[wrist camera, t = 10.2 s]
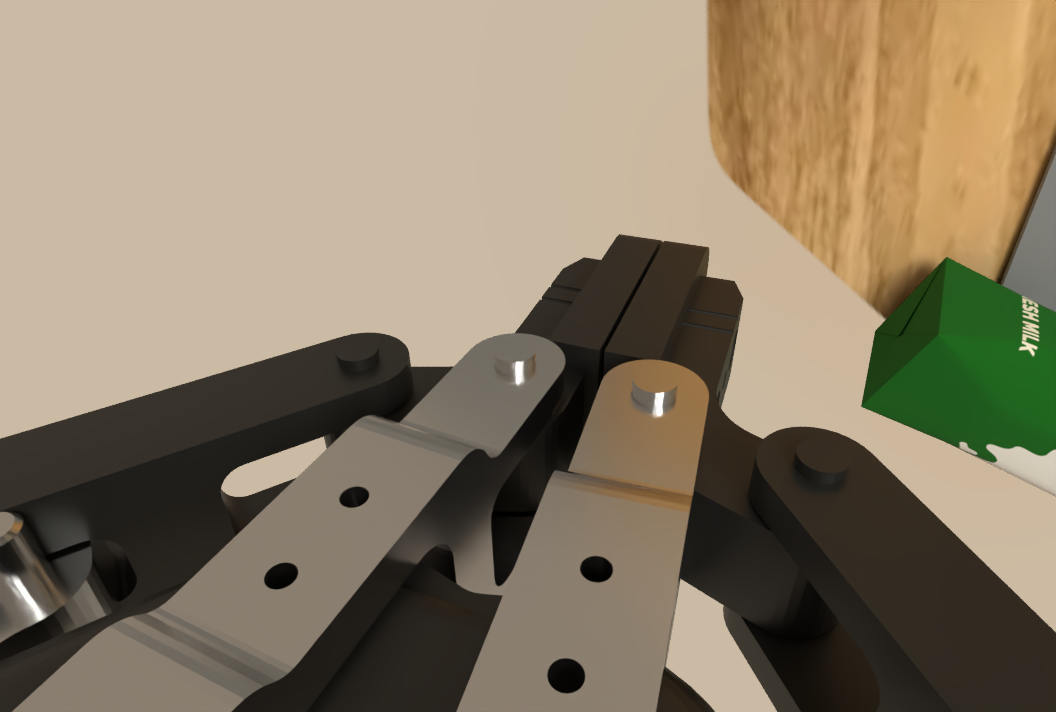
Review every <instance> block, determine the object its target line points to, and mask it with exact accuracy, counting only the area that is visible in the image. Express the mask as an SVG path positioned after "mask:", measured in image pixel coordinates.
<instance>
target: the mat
mask: <svg viewBox="0 0 1056 712" xmlns="http://www.w3.org/2000/svg"><path fill="white" fill-rule="evenodd" d="M1000 284H1001V285H1002V286H1004V287H1006V288H1008V289H1010V290H1012V291H1014V292H1016V293H1018V294H1020V295H1022V296H1024V297H1026V298H1028V299H1030V300H1032V301H1034V302H1036V303H1038V304H1040V305H1042V306H1044V307H1046V308H1049V309H1051V310H1053V311H1055V312H1056V145H1055V148H1054V150H1053V153H1052V155H1051V158H1050V160H1049V163H1048V165H1047V168H1046V170H1045V173H1044V175H1043V178H1042V180H1041V183H1040V185H1039V188H1038V190H1037V193H1036V195H1035V198H1034V200H1033V203H1032V205H1031V208H1030V210H1029V213H1028V215H1027V218H1026V220H1025V223H1024V225H1023V228H1022V230H1021V233H1020V235H1019V238H1018V240H1017V243H1016V245H1015V248H1014V250H1013V253H1012V255H1011V258H1010V260H1009V263H1008V265H1007V268H1006V270H1005V273H1004V275H1003V278H1002V280H1001V283H1000Z"/></svg>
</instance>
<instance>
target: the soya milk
mask: <svg viewBox="0 0 1056 712" xmlns="http://www.w3.org/2000/svg"><path fill="white" fill-rule="evenodd" d="M862 407H863V408H866V409H868V410H871V411H873V412H876V413H878V414H880V415H882V416H885V417H887V418H889V419H892V420H894V421H897V422H899V423H901V424H904V425H906V426H909V427H911V428H913V429H916V430H918V431H920V432H923V433H925V434H927V435H930V436H932V437H935V438H937V439H940V440H942V441H944V442H946V443H949V444H951V445H953V446H955V447H957V448H959V449H961V450H963V451H965V452H967V453H969V454H971V455H973V456H975V457H977V458H979V459H981V460H983V461H985V462H987V463H989V464H991V465H993V466H995V467H997V468H999V469H1001V470H1004V471H1006V472H1007V473H1009V474H1011V475H1014V476H1015V477H1017V478H1019V479H1022V480H1024V481H1026V482H1028V483H1030V484H1032V485H1034V486H1036V487H1038V488H1040V489H1042V490H1044V491H1046V492H1048V493H1050V494H1052V495H1054V496H1056V312H1055V311H1053V310H1051V309H1049V308H1046V307H1044V306H1042V305H1040V304H1038V303H1036V302H1034V301H1032V300H1030V299H1028V298H1026V297H1024V296H1022V295H1020V294H1018V293H1016V292H1014V291H1012V290H1010V289H1008V288H1006V287H1004V286H1002V285H1001V284H999V283H997V282H995V281H993V280H991V279H989V278H987V277H985V276H983V275H981V274H979V273H977V272H975V271H973V270H971V269H969V268H967V267H965V266H963V265H961V264H959V263H957V262H955V261H953V260H951V259H950V258H948V257H946V258H945V259H944V260H943V261H942V262H941V263H940V264H939V265H938V266H937V267H936V268H935V269H934V271H933V272H932V273H931V274H930V275H929V276H928V277H927V278H926V279H925V280H924V281H923V282H922V283H921V284H920V285H919V286H918V287H917V288H916V289H915V290H914V291H913V292H912V293H911V294H910V295H909V296H908V298H907V299H906V300H905V301H904V302H903V303H902V304H901V305H900V306H899V307H898V308H897V309H896V310H895V311H894V312H893V313H892V314H891V315H890V316H889V317H888V318H887V319H886V320H885V321H884V322H883V324H882V325H881V326H880V327H879V328H878V329H877V330H876V331H875V336H874V341H873V347H872V353H871V357H870V363H869V368H868V374H867V380H866V384H865V389H864V395H863V400H862Z"/></svg>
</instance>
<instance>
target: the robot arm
mask: <svg viewBox="0 0 1056 712" xmlns="http://www.w3.org/2000/svg"><path fill="white" fill-rule="evenodd" d="M708 261H709V248H708V247H703V246H696V245H689V244H683V243H676V242H669V241H664V242H662V241H660V240H654V239H647V238H640V237H633V236H626V235H620V234H619V235H618V236H617V237H616V239H615V240H614V242H613V244H612V245H611V246H610V248H609V249H608V251H607V252H606V254H605V255H604V257H603V258H602V260H596V259H591V258H582V259H581V260H579V261H577V262H575V263H573V264H571V265H569V266H568V267H566V268H564V269H562V271H561V272H560V274H559V275H558V276H557V278H556V279H555V280H554V281H553V283H552V285H551V287H549V288H548V290H547V291H546V292H545V294H544V295H543V296H542V300H539V302H538V303H537V304H536V306H535V307H534V308H533V310H532V311H531V312H530V314H529V315H528V317H527V318H526V319H525V320H524V322H523V323H522V324H521V326H520V327H519V328H518V330H517V331H516V332H515V333H512V334H503V335H498V336H494V337H491V338H488V339H486V340H483V341H481V342H480V343H478V344H476V345H475V346H474V347H473V348H472V349H471V350H470V351H469V352H468V353H467V354H466V355H465V356H464V357H463V358H462V359H461V360H460V361H459V362H458V363H457V364H456V365H455V366H454V367H411V364H410V357H409V351H408V348H407V347H406V345H405V344H404V343H403V342H402V341H400V340H399V339H397V338H395V337H392V336H390V335H385V334H380V333H358V334H351V335H348V336H343V337H340V338H336V339H333V340H330V341H326V342H323V343H320V344H316V345H313V346H309V347H306V348H303V349H299V350H296V351H293V352H290V353H286V354H283V355H280V356H276V357H273V358H269V359H266V360H263V361H260V362H256V363H253V364H250V365H246V366H243V367H239V368H236V369H233V370H229V371H226V372H223V373H219V374H216V375H212V376H209V377H206V378H202V379H199V380H196V381H192V382H189V383H186V384H182V385H179V386H176V387H172V388H169V389H165V390H163V391H159V392H155V393H152V394H149V395H145V396H143V397H139V398H135V399H132V400H129V401H126V402H122V403H119V404H116V405H112V406H109V407H105V408H102V409H99V410H96V411H92V412H88V413H85V414H82V415H78V416H75V417H72V418H68V419H65V420H62V421H58V422H55V423H52V424H48V425H45V426H42V427H38V428H35V429H32V430H29V431H25V432H21V433H18V434H15V435H11V436H8V437H5V438H1V439H0V712H714V710H713V709H712V708H711V706H710V705H709V704H708V703H707V702H706V701H705V700H704V699H703V698H702V697H701V696H700V695H699V694H698V693H697V692H695V690H693V688H692V687H691V686H689V685H688V684H687V683H686V682H684V681H683V680H682V679H680V678H679V677H678V676H677V675H675V674H674V673H673V672H671V671H670V670H669V669H667V668H666V663H667V657H668V651H669V645H670V639H671V633H672V627H673V621H674V615H675V608H676V603H677V596H678V590H679V584H680V579H682V580H684V581H685V582H687V583H689V584H690V585H692V586H693V587H695V588H697V589H698V590H700V591H702V592H703V593H705V594H706V595H708V596H710V597H711V598H713V599H715V600H716V601H718V602H719V603H721V604H723V605H724V607H723V612H724V619H725V623H726V626H727V628H728V630H729V632H730V634H731V635H732V637H733V638H734V640H735V642H736V644H737V645H738V647H739V649H740V650H741V652H742V654H743V655H744V657H745V658H746V660H747V662H748V663H749V665H750V667H751V668H752V670H753V672H754V673H755V675H756V677H757V678H758V680H759V682H760V683H761V685H762V687H763V688H764V690H765V692H766V693H767V695H768V697H769V698H770V700H771V702H772V703H773V705H774V707H775V708H776V710H777V712H1056V632H1055V631H1054V630H1053V629H1052V628H1051V627H1049V626H1048V625H1047V624H1046V623H1045V622H1044V621H1043V620H1042V619H1041V618H1040V617H1039V616H1038V615H1037V614H1036V613H1035V612H1034V611H1033V610H1032V609H1031V608H1030V607H1029V606H1028V605H1027V604H1026V603H1025V602H1024V601H1023V600H1022V599H1021V598H1020V597H1019V596H1018V595H1017V594H1016V593H1015V592H1014V591H1013V590H1012V589H1011V588H1009V587H1008V586H1007V585H1006V584H1005V583H1004V582H1003V581H1002V580H1001V579H1000V578H999V577H998V576H997V575H996V574H995V573H994V572H993V571H992V570H991V569H990V568H989V567H988V566H987V565H986V564H985V563H984V562H983V561H982V560H981V559H980V558H979V557H978V556H977V555H976V554H975V553H973V551H972V550H971V549H969V548H968V547H967V546H966V545H965V544H964V543H963V542H962V541H961V540H960V539H959V538H958V537H957V536H956V535H955V534H954V533H953V532H952V531H951V530H950V529H949V528H948V527H947V526H946V525H945V524H944V523H943V522H942V521H941V520H940V519H939V518H938V517H937V516H936V515H935V514H934V513H933V512H931V511H930V510H929V509H928V508H927V507H926V506H925V505H924V504H923V503H922V502H921V501H920V500H919V499H918V498H917V497H916V496H915V495H914V494H913V493H912V492H911V491H910V490H909V489H908V488H907V487H906V486H905V485H904V484H903V483H902V482H901V481H900V480H899V479H898V478H897V477H896V476H895V475H893V473H892V472H891V471H889V470H888V469H887V468H886V467H885V466H884V465H883V464H882V463H881V462H880V461H879V460H878V459H877V458H876V457H875V456H874V455H873V454H872V453H871V452H870V451H868V450H867V449H866V448H865V447H864V446H862V445H860V444H859V443H857V442H856V441H854V440H852V439H850V438H848V437H846V436H843V435H841V434H839V433H836V432H833V431H829V430H825V429H820V428H815V427H791V428H785V429H781V430H778V431H776V432H774V433H772V434H770V435H769V436H767V437H766V438H764V439H762V438H760V437H757V436H755V435H753V434H751V433H749V432H747V431H745V430H744V429H742V428H741V427H739V426H738V425H736V424H735V423H734V422H732V421H731V420H730V419H729V418H728V417H727V416H726V415H725V413H724V412H723V411H722V409H721V406H722V402H723V399H724V394H725V392H726V388H727V384H728V381H729V377H730V373H731V367H732V361H733V356H734V349H735V344H736V338H737V333H738V326H739V321H740V315H741V310H742V304H743V297H742V295H741V293H740V291H739V289H738V287H737V285H736V283H735V281H730V280H724V279H717V278H710V277H706V275H707V268H708ZM323 436H324V439H325V443H326V448H327V449H326V450H325V451H324V452H323V453H322V454H321V455H320V456H319V457H318V458H317V459H316V460H315V461H314V462H313V463H312V464H311V465H310V466H309V467H308V468H307V469H306V470H305V471H303V472H302V473H301V474H300V475H299V476H298V477H297V478H295V479H293V480H290V481H287V482H284V483H282V484H279V485H276V486H274V487H271V488H268V489H266V490H263V491H260V492H258V493H255V494H252V495H249V496H245V497H233V496H229V495H227V494H225V493H224V492H223V491H222V490H221V486H222V483H223V481H224V479H225V478H226V477H227V475H228V474H229V473H230V472H231V471H233V470H234V469H236V468H237V467H239V466H242V465H244V464H247V463H250V462H253V461H255V460H258V459H261V458H264V457H266V456H270V455H272V454H275V453H278V452H281V451H283V450H286V449H289V448H292V447H295V446H298V445H300V444H304V443H306V442H309V441H312V440H315V439H318V438H320V437H323Z"/></svg>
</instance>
